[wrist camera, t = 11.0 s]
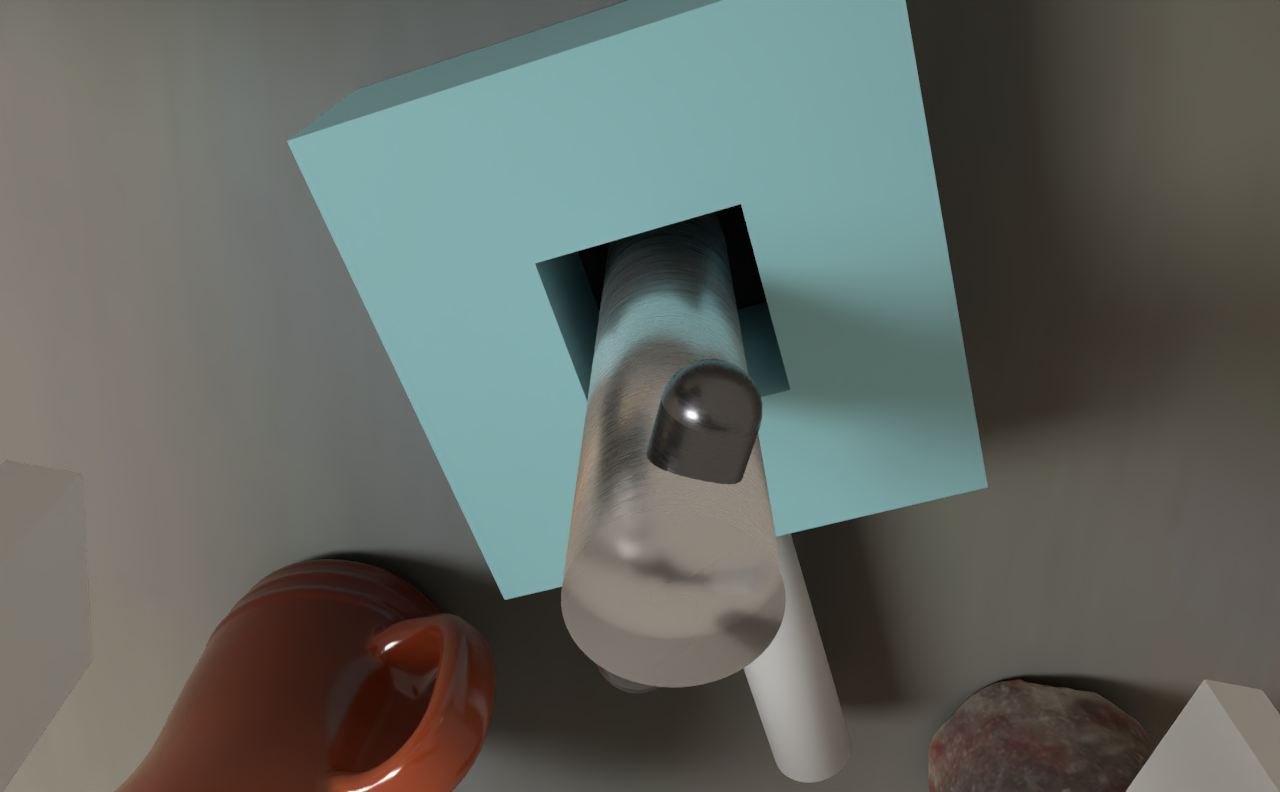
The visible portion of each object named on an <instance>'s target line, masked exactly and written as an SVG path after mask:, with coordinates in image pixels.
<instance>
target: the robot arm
mask: <svg viewBox="0 0 1280 792" xmlns="http://www.w3.org/2000/svg"><path fill="white" fill-rule="evenodd" d="M92 660H93V653H92V637H91V620H90V604H89V587H88V571H87V554H86V538H85V521H84V505H83V488H82V474H81V473H75V472H70V471H64V470H59V469H53V468H48V467H42V466H37V465H31V464H26V463H21V462H15V461H10V460H7V461H6V462H5V463H4V464H2V465H1V466H0V792H3V791H4V790H5V788H6V787H7V785H8V784H9V782H10V781H11V779H12V778H13V776H14V775H15V773H16V772H17V770H18V769H19V767H20V766H21V764H22V763H23V762H24V760H25V759H26V757H27V756H28V754H29V753H30V751H31V750H32V748H33V747H34V745H35V744H36V742H37V741H38V739H39V738H40V736H41V735H42V734H43V732H44V731H45V729H46V728H47V726H48V725H49V723H50V722H51V720H52V719H53V717H54V716H55V714H56V713H57V711H58V710H59V708H60V707H61V705H62V704H63V703H64V701H65V700H66V698H67V697H68V695H69V694H70V692H71V691H72V689H73V688H74V686H75V685H76V683H77V682H78V680H79V679H80V677H81V676H82V675H83V673H84V672H85V670H86V669H87V667H88V666H89V664H90V663H91V661H92ZM1126 792H1280V714H1279V713H1278V711H1277V710H1276V709H1275V707H1274V706H1273V704H1272V703H1271V702H1270V700H1269V699H1268V698H1267V696H1266V695H1265V693H1264V692H1263V691H1262V690H1260V689H1255V688H1249V687H1244V686H1238V685H1233V684H1227V683H1222V682H1216V681H1211V680H1206V679H1204V680H1203V682H1202V683H1201V685H1200V686H1199V687H1198V689H1197V690H1196V692H1195V693H1194V695H1193V696H1192V697H1191V699H1190V700H1189V702H1188V703H1187V705H1186V706H1185V707H1184V709H1183V710H1182V712H1181V713H1180V715H1179V716H1178V717H1177V719H1176V720H1175V722H1174V723H1173V725H1172V726H1171V727H1170V729H1169V730H1168V732H1167V733H1166V735H1165V736H1164V737H1163V739H1162V740H1161V742H1160V743H1159V745H1158V746H1157V747H1156V749H1155V750H1154V752H1153V753H1152V755H1151V756H1150V757H1149V759H1148V760H1147V762H1146V763H1145V765H1144V766H1143V767H1142V769H1141V770H1140V772H1139V773H1138V775H1137V776H1136V777H1135V779H1134V780H1133V782H1132V783H1131V785H1130V786H1129V787H1128V789H1127V790H1126Z"/></svg>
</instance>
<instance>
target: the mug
mask: <svg viewBox="0 0 1280 792" xmlns="http://www.w3.org/2000/svg"><path fill="white" fill-rule="evenodd" d="M495 691H496V667H495V661H494V657H493V653H492V650H491V648H490V646H489V644H488V643H487V641H486V639H485V638H484V637H483V635H482V634H481V633H480V632H479V631H478V630H477V629H476V628H474V627H473V626H472V625H471V624H470V623H468V622H467V621H466V620H464V619H463V618H461V617H459V616H457V615H454V614H450V613H440V611H439V610H438V609H437V608H436V607H435V605H434V604H433V603H432V602H431V601H430V600H429V599H428V598H427V597H426V596H425V595H424V594H423V593H422V592H421V591H419V590H418V589H417V588H416V587H414V586H413V585H411V584H410V583H408V582H407V581H405V580H404V579H402V578H400V577H399V576H397V575H395V574H394V573H392V572H390V571H388V570H386V569H383V568H381V567H377V566H374V565H370V564H365V563H360V562H355V561H348V560H338V559H321V560H311V561H304V562H300V563H295V564H292V565H289V566H286V567H283V568H281V569H279V570H277V571H275V572H273V573H271V574H269V575H268V576H266V577H265V578H263V579H262V580H261V581H259V582H258V583H257V584H256V585H255V586H254V587H253V588H252V589H251V590H250V591H249V592H248V593H247V594H246V595H245V596H244V597H243V598H242V599H241V600H240V601H238V602H237V604H236V605H235V606H234V607H233V608H232V610H231V611H230V613H229V614H228V615H227V616H226V617H225V618H224V619H223V620H222V621H221V623H220V624H219V625H218V626H217V627H216V629H215V630H214V632H213V633H212V635H211V637H210V639H209V641H208V643H207V645H206V648H205V651H204V653H203V654H202V656H201V658H200V660H199V661H198V663H197V665H196V666H195V668H194V670H193V672H192V673H191V675H190V677H189V679H188V681H187V682H186V684H185V686H184V688H183V690H182V691H181V693H180V695H179V697H178V699H177V701H176V703H175V705H174V707H173V709H172V711H171V713H170V715H169V717H168V719H167V721H166V723H165V725H164V727H163V729H162V731H161V733H160V735H159V737H158V738H157V740H156V742H155V744H154V745H153V747H152V749H151V750H150V752H149V753H148V755H147V756H146V757H145V759H144V760H143V761H142V763H141V764H140V765H139V766H138V768H137V769H136V770H135V771H134V772H133V773H132V774H131V776H130V777H129V778H128V779H127V780H126V781H125V782H124V783H123V784H122V785H121V786H120V787H119V788H118V789H117V790H116V791H115V792H452V791H453V790H454V789H455V788H456V787H457V786H458V784H459V783H460V782H461V781H462V779H463V778H464V777H465V776H466V774H467V773H468V771H469V770H470V768H471V767H472V765H473V764H474V762H475V760H476V758H477V756H478V754H479V752H480V750H481V748H482V745H483V743H484V740H485V737H486V734H487V731H488V727H489V724H490V720H491V716H492V711H493V706H494V699H495Z"/></svg>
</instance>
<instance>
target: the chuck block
mask: <svg viewBox="0 0 1280 792" xmlns="http://www.w3.org/2000/svg"><path fill="white" fill-rule="evenodd" d="M287 142H288V145H289V147H290V149H291V151H292V153H293V155H294V157H295V159H296V161H297V164H298V166H299V168H300V170H301V172H302V174H303V176H304V178H305V180H306V182H307V185H308V187H309V189H310V191H311V193H312V195H313V197H314V199H315V201H316V204H317V206H318V208H319V210H320V212H321V214H322V216H323V218H324V220H325V223H326V225H327V227H328V229H329V231H330V233H331V235H332V237H333V239H334V242H335V244H336V246H337V248H338V250H339V252H340V254H341V256H342V258H343V260H344V263H345V265H346V267H347V269H348V271H349V273H350V275H351V277H352V279H353V282H354V284H355V286H356V288H357V290H358V292H359V294H360V296H361V298H362V301H363V303H364V305H365V307H366V309H367V311H368V313H369V315H370V317H371V320H372V322H373V324H374V326H375V328H376V330H377V332H378V334H379V336H380V338H381V341H382V343H383V345H384V347H385V349H386V351H387V353H388V355H389V357H390V360H391V362H392V364H393V366H394V368H395V370H396V372H397V374H398V376H399V379H400V381H401V383H402V385H403V387H404V389H405V391H406V393H407V395H408V398H409V400H410V402H411V404H412V406H413V408H414V410H415V412H416V414H417V416H418V419H419V421H420V423H421V425H422V427H423V429H424V431H425V433H426V435H427V438H428V440H429V442H430V444H431V446H432V448H433V450H434V452H435V454H436V457H437V459H438V461H439V463H440V465H441V467H442V469H443V471H444V473H445V476H446V478H447V480H448V482H449V484H450V486H451V488H452V490H453V492H454V494H455V497H456V499H457V501H458V503H459V505H460V507H461V509H462V511H463V513H464V516H465V518H466V520H467V522H468V524H469V526H470V528H471V530H472V532H473V535H474V537H475V539H476V541H477V543H478V545H479V547H480V549H481V551H482V554H483V556H484V558H485V560H486V562H487V564H488V566H489V568H490V570H491V572H492V575H493V577H494V579H495V581H496V583H497V585H498V587H499V589H500V591H501V594H502V596H503V598H504V600H507V599H511V598H515V597H520V596H524V595H528V594H533V593H537V592H541V591H545V590H550V589H554V588H558V587H562V584H563V576H564V569H565V562H566V554H567V547H568V540H569V532H570V525H571V518H572V510H573V503H574V496H575V489H576V481H577V474H578V467H579V459H580V452H581V445H582V437H583V430H584V423H585V415H586V408H587V401H588V394H589V386H590V379H591V372H592V364H593V357H594V350H595V342H596V335H597V328H598V320H599V313H600V312H599V309H598V306H597V303H596V301H595V298H594V295H593V292H592V289H591V286H590V284H589V281H588V278H587V275H586V272H585V269H584V267H583V264H582V261H581V258H580V255H579V253H578V251H580V250H584V249H587V248H591V247H594V246H598V245H601V244H604V243H608V242H611V241H615V240H618V239H622V238H625V237H629V236H632V235H636V234H639V233H643V232H646V231H649V230H653V229H656V228H660V227H663V226H667V225H670V224H674V223H677V222H681V221H684V220H688V219H691V218H694V217H698V216H701V215H705V214H708V213H712V212H715V211H719V210H722V209H726V208H729V207H733V206H736V205H739V204H741V206H742V210H743V214H744V217H745V221H746V225H747V229H748V232H749V236H750V240H751V244H752V247H753V251H754V255H755V259H756V262H757V266H758V270H759V274H760V277H761V281H762V285H763V289H764V292H765V296H766V300H767V302H764V303H760V304H757V305H753V306H749V307H746V308H742V309H738V310H737V312H738V317H739V323H740V329H741V335H742V341H743V347H744V353H745V358H746V364H747V370H748V375H749V376H750V377H751V378H752V380H753V381H754V382H755V384H756V386H757V388H758V390H759V392H760V395H761V400H762V421H761V425H760V428H759V431H758V434H759V440H760V446H761V452H762V458H763V464H764V470H765V475H766V481H767V487H768V493H769V499H770V505H771V511H772V516H773V522H774V528H775V534H776V540H777V546H778V551H779V557H780V563H781V569H782V575H783V581H784V587H785V596H786V605H785V612H784V617H783V620H782V623H781V626H780V628H779V630H778V632H777V634H776V636H775V638H774V639H773V641H772V642H771V644H770V645H769V646H768V648H767V649H766V650H765V651H764V652H763V653H762V654H761V655H760V656H759V657H758V658H757V659H755V660H754V661H753V662H752V663H751V664H749V665H747V666H746V667H744V671H745V674H746V677H747V680H748V683H749V686H750V689H751V692H752V695H753V698H754V700H755V703H756V706H757V709H758V712H759V715H760V718H761V721H762V724H763V727H764V730H765V733H766V735H767V738H768V741H769V744H770V747H771V750H772V753H773V756H774V759H775V762H776V764H777V766H778V768H779V769H780V771H781V772H782V773H783V774H784V775H786V776H787V777H789V778H791V779H793V780H796V781H800V782H819V781H823V780H825V779H828V778H830V777H832V776H834V775H835V774H837V773H838V772H839V771H841V770H842V768H843V767H844V766H845V765H846V763H847V762H848V760H849V758H850V755H851V747H852V746H851V740H850V737H849V734H848V730H847V727H846V723H845V720H844V716H843V713H842V709H841V706H840V702H839V699H838V695H837V692H836V688H835V685H834V682H833V678H832V675H831V671H830V668H829V664H828V661H827V657H826V654H825V650H824V647H823V643H822V640H821V637H820V633H819V630H818V626H817V623H816V619H815V616H814V612H813V609H812V605H811V602H810V598H809V595H808V592H807V588H806V585H805V581H804V578H803V574H802V571H801V567H800V564H799V560H798V557H797V553H796V550H795V546H794V543H793V540H792V536H791V533H794V532H798V531H802V530H807V529H811V528H815V527H820V526H824V525H828V524H832V523H837V522H841V521H845V520H850V519H854V518H858V517H862V516H867V515H871V514H875V513H880V512H884V511H888V510H892V509H897V508H901V507H905V506H910V505H914V504H918V503H922V502H927V501H931V500H935V499H940V498H944V497H948V496H952V495H957V494H961V493H965V492H970V491H974V490H978V489H982V488H987V487H988V485H987V479H986V474H985V468H984V462H983V456H982V450H981V444H980V438H979V432H978V426H977V420H976V414H975V408H974V403H973V397H972V391H971V385H970V379H969V373H968V367H967V361H966V355H965V349H964V343H963V337H962V332H961V326H960V320H959V314H958V308H957V302H956V296H955V290H954V284H953V278H952V272H951V266H950V261H949V255H948V249H947V243H946V237H945V231H944V225H943V219H942V213H941V207H940V201H939V196H938V190H937V184H936V178H935V172H934V166H933V160H932V154H931V148H930V142H929V136H928V130H927V125H926V119H925V113H924V107H923V101H922V95H921V89H920V83H919V77H918V71H917V65H916V59H915V54H914V48H913V42H912V36H911V30H910V24H909V18H908V12H907V6H906V0H628V1H625V2H622V3H619V4H616V5H613V6H610V7H607V8H604V9H601V10H598V11H594V12H591V13H588V14H585V15H582V16H579V17H576V18H573V19H570V20H567V21H564V22H561V23H558V24H555V25H552V26H549V27H546V28H543V29H540V30H537V31H534V32H530V33H527V34H524V35H521V36H518V37H515V38H512V39H509V40H506V41H503V42H500V43H497V44H494V45H491V46H488V47H485V48H482V49H479V50H476V51H473V52H469V53H466V54H463V55H460V56H457V57H454V58H451V59H448V60H445V61H442V62H439V63H436V64H433V65H430V66H427V67H424V68H421V69H418V70H415V71H412V72H409V73H405V74H402V75H399V76H396V77H393V78H390V79H387V80H384V81H381V82H378V83H375V84H372V85H369V86H366V87H363V88H360V89H357V90H355V91H354V92H352V93H351V94H350V95H348V96H347V97H346V98H344V99H343V100H342V101H340V102H339V103H338V104H336V105H335V106H333V107H332V108H331V109H329V110H328V111H327V112H325V113H324V114H323V115H321V116H320V117H319V118H317V119H316V120H315V121H313V122H312V123H311V124H309V125H308V126H306V127H305V128H304V129H302V130H301V131H300V132H298V133H297V134H296V135H294V136H293V137H292V138H290V139H289V140H288V141H287Z"/></svg>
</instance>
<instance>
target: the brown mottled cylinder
mask: <svg viewBox="0 0 1280 792" xmlns="http://www.w3.org/2000/svg"><path fill="white" fill-rule="evenodd" d="M1155 749H1156V747H1155V745H1154V744H1153V742H1152V741H1151V739H1150V738H1149V736H1148V734H1147V733H1146V731H1145V730H1144V728H1143V727H1142V726H1141V725H1140V723H1139V722H1138V721H1137V720H1136V719H1134V718H1133V717H1131V716H1130V715H1128V714H1127V713H1125V712H1124V711H1123V710H1121V709H1120V708H1118V707H1117V706H1116V705H1114V704H1113V703H1111V702H1110V701H1108V700H1106V699H1105V698H1103V697H1102V696H1100V695H1098V694H1097V693H1095V692H1088V691H1079V690H1073V689H1070V688H1067V687H1052V686H1047V685H1040V684H1036V683H1028V682H1025V681H1023V680H1021V679H1018V680H1010V681H1003V682H998V683H995V684H992V685H990V686H988V687H986V688H983V689H981V690H980V691H979V692H978V693H976V694H974V695H972V696H970V697H969V698H968V699H967V700H966V701H965V702H964V703H963V704H962V705H961V706H960V707H959V708H958V709H957V710H956V711H955V713H954V714H953V716H952V717H950V718H949V719H948V720H947V721H946V722H945V723H944V724H943V725H942V726H941V727H940V728H939V729H938V730H937V732H936V733H935V735H934V736H933V738H932V740H931V746H930V749H929V767H928V783H929V788H930V792H1126V790H1127V789H1128V787H1129V786H1130V785H1131V783H1132V782H1133V780H1134V779H1135V777H1136V776H1137V775H1138V773H1139V772H1140V770H1141V769H1142V767H1143V766H1144V765H1145V763H1146V762H1147V760H1148V759H1149V757H1150V756H1151V755H1152V753H1153V752H1154V750H1155Z"/></svg>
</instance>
